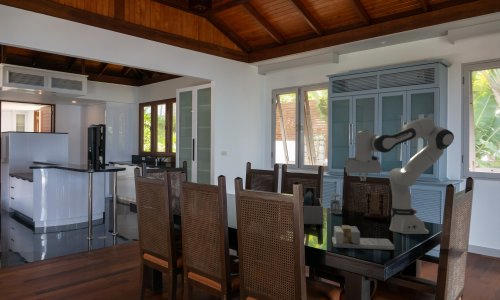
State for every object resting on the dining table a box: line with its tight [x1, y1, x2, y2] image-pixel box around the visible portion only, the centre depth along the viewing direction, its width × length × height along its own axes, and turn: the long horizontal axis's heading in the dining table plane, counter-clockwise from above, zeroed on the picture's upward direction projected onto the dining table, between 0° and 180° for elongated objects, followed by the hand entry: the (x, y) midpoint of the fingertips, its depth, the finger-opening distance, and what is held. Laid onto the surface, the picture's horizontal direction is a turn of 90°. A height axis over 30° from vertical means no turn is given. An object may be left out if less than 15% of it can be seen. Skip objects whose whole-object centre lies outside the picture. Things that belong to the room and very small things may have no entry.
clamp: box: [303, 186, 317, 206], centre depth 263 cm, size 35×9×21 cm, turn 167°
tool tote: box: [302, 197, 324, 225], centre depth 263 cm, size 14×40×12 cm, turn 171°
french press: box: [328, 181, 345, 215], centre depth 285 cm, size 10×12×25 cm
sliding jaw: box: [349, 225, 361, 244], centre depth 193 cm, size 4×14×6 cm, turn 171°
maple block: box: [341, 224, 351, 242], centre depth 195 cm, size 4×8×7 cm, turn 172°
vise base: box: [331, 225, 395, 251], centre depth 192 cm, size 30×14×8 cm, turn 81°
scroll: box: [364, 190, 387, 220], centre depth 263 cm, size 15×15×20 cm
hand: (363, 180), depth 214 cm, fingers closed
